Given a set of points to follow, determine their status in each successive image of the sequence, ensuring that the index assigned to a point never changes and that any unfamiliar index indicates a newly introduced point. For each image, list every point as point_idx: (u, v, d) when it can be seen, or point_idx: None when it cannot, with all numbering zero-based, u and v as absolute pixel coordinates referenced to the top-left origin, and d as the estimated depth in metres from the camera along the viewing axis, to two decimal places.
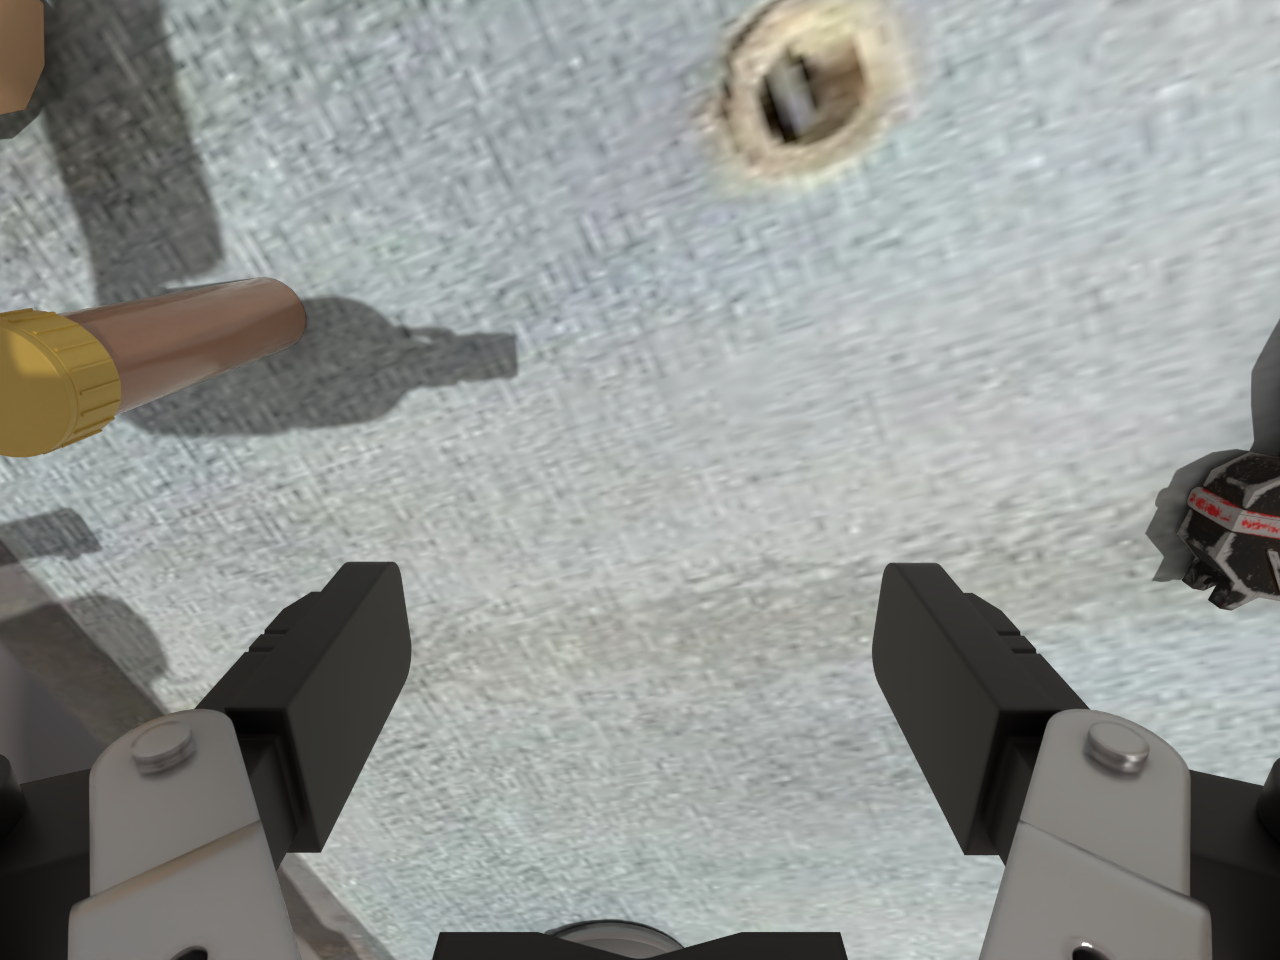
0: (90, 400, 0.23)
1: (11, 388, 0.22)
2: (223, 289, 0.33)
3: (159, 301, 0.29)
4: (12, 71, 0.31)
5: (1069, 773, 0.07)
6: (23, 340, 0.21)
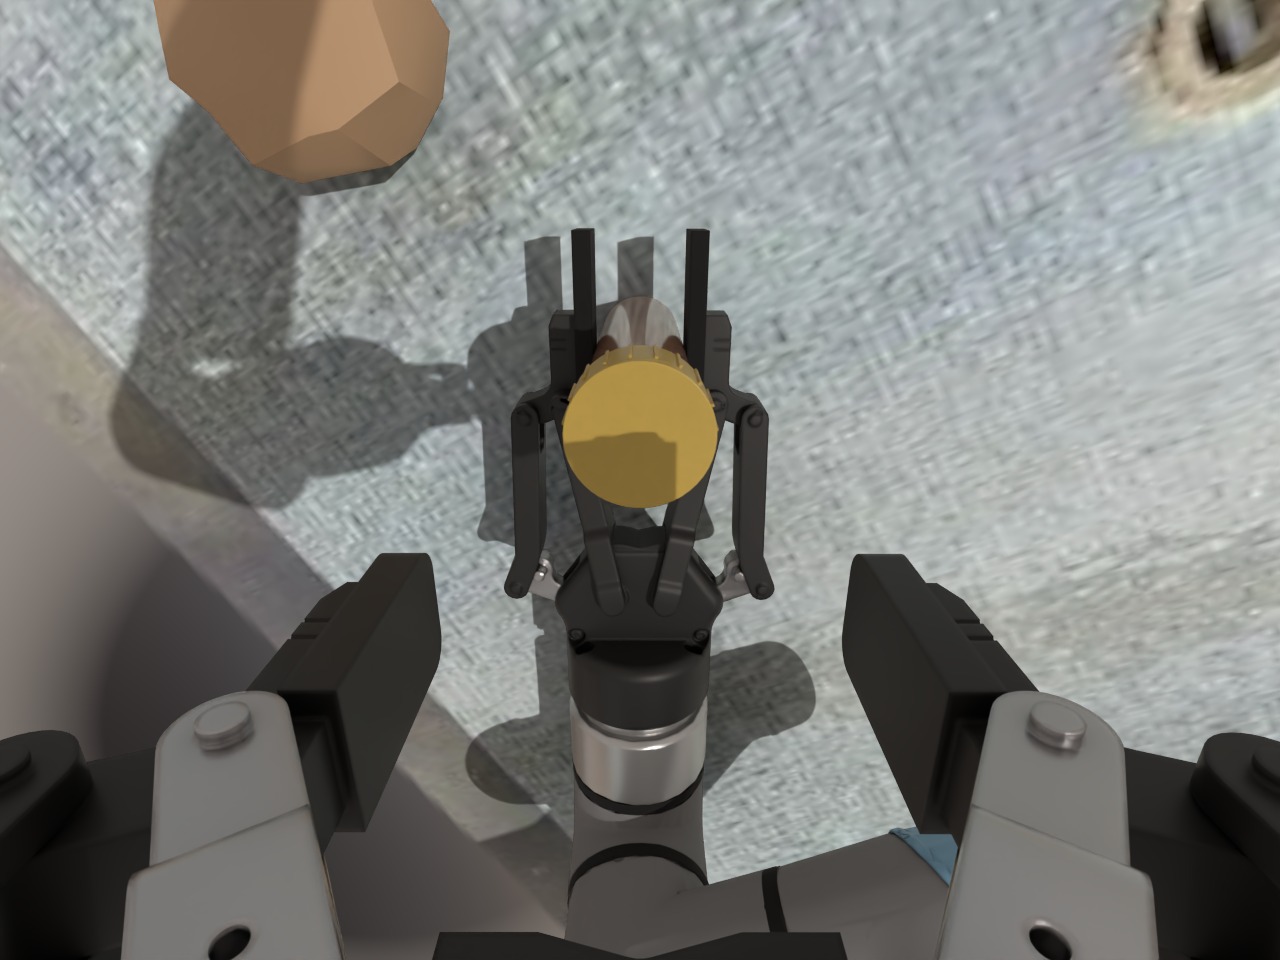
0: None
1: (657, 432, 0.20)
2: (649, 310, 0.31)
3: (650, 326, 0.26)
4: (432, 105, 0.29)
5: (1014, 754, 0.07)
6: (682, 376, 0.19)
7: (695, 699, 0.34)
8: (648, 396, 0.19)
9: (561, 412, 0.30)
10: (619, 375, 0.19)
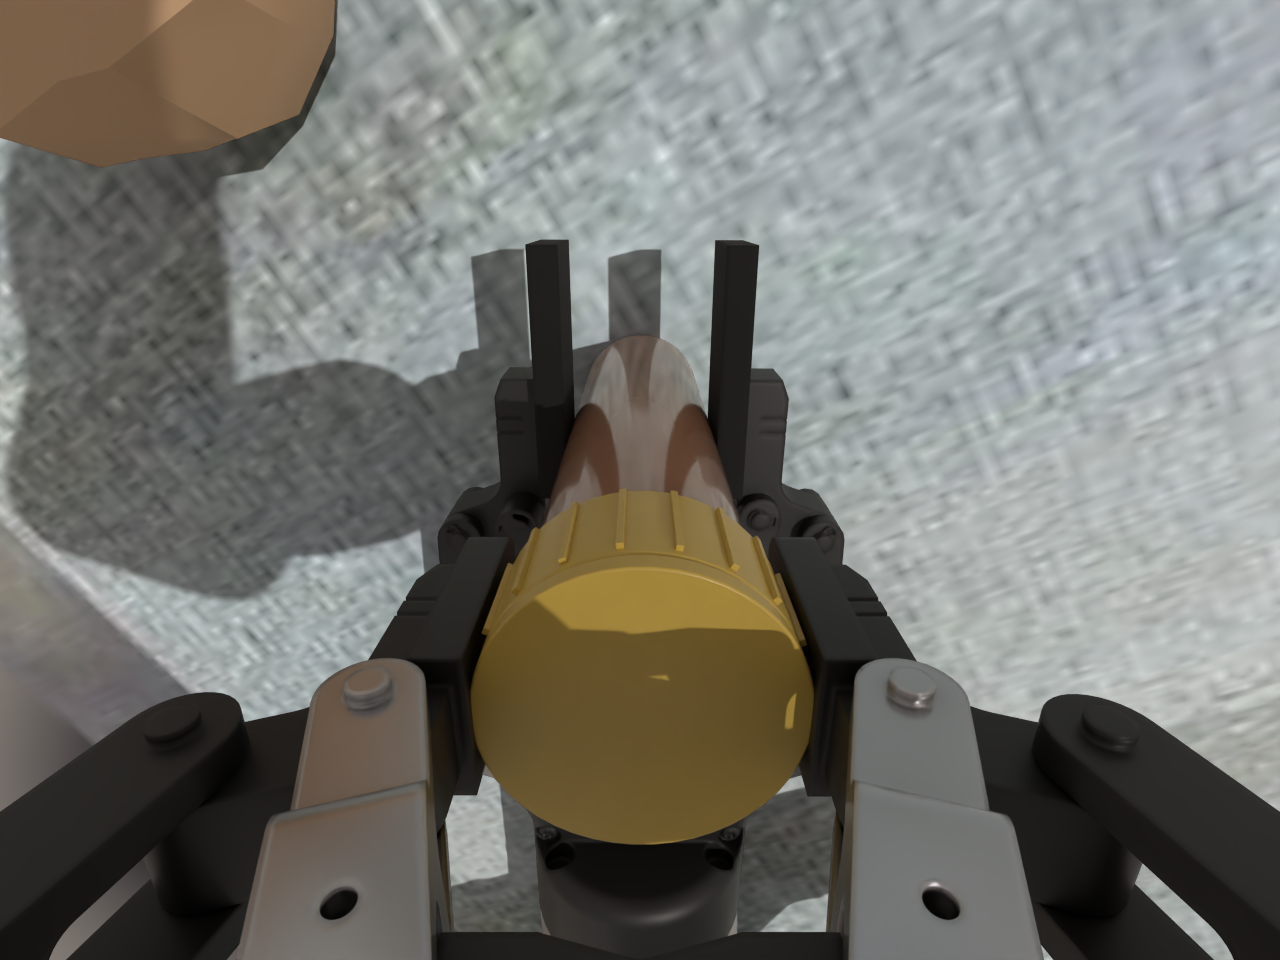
0: None
1: (680, 709, 0.09)
2: (655, 366, 0.20)
3: (658, 410, 0.15)
4: (306, 42, 0.18)
5: (880, 722, 0.07)
6: (740, 598, 0.08)
7: (722, 930, 0.23)
8: (661, 639, 0.08)
9: (517, 530, 0.19)
10: (593, 598, 0.08)
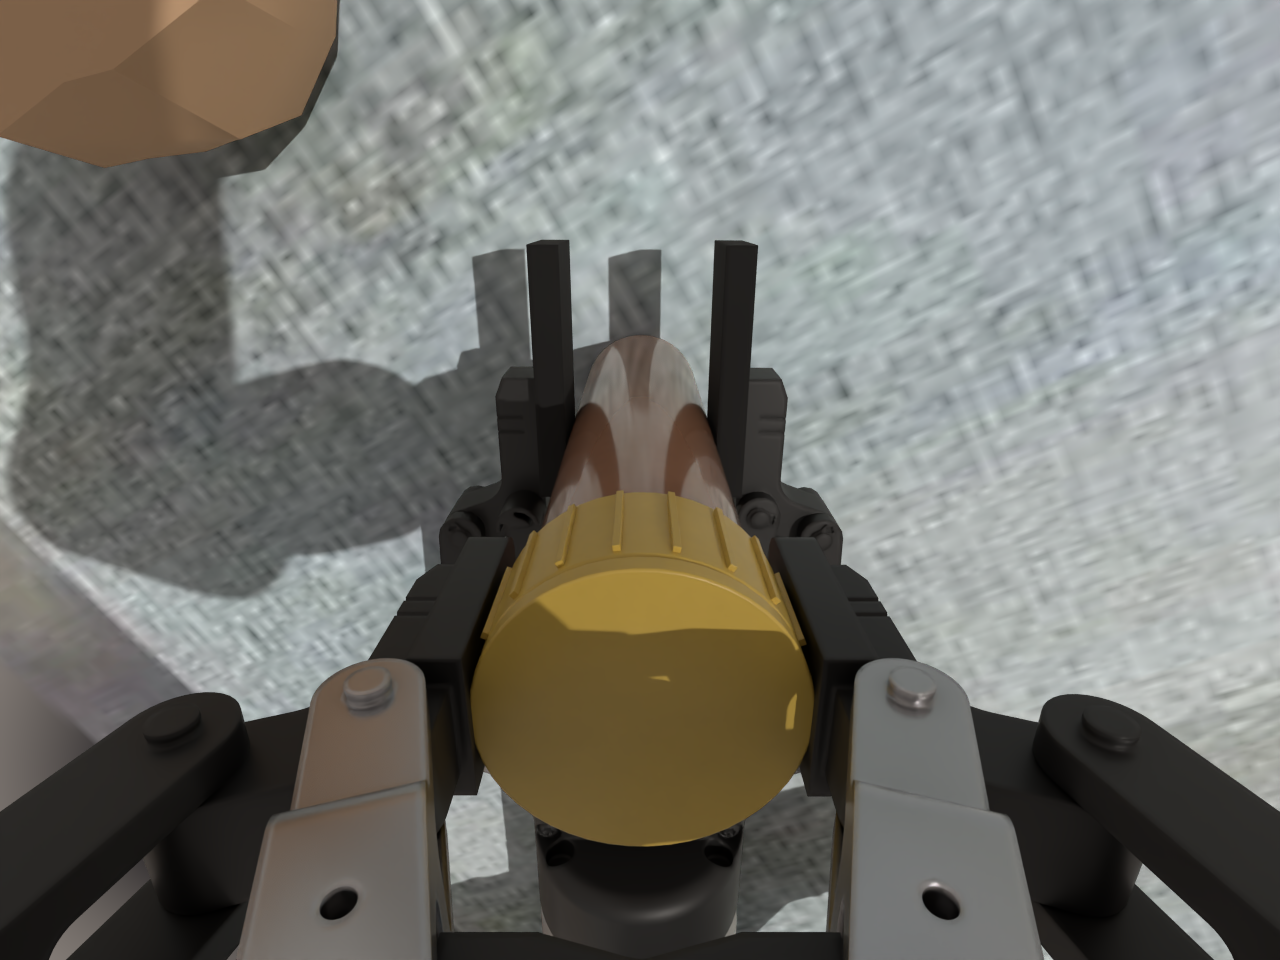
0: (646, 536, 0.09)
1: (624, 692, 0.09)
2: (655, 365, 0.20)
3: (658, 409, 0.16)
4: (309, 43, 0.18)
5: (880, 722, 0.07)
6: (489, 656, 0.09)
7: (722, 927, 0.23)
8: (544, 715, 0.09)
9: (517, 528, 0.19)
10: (511, 766, 0.09)
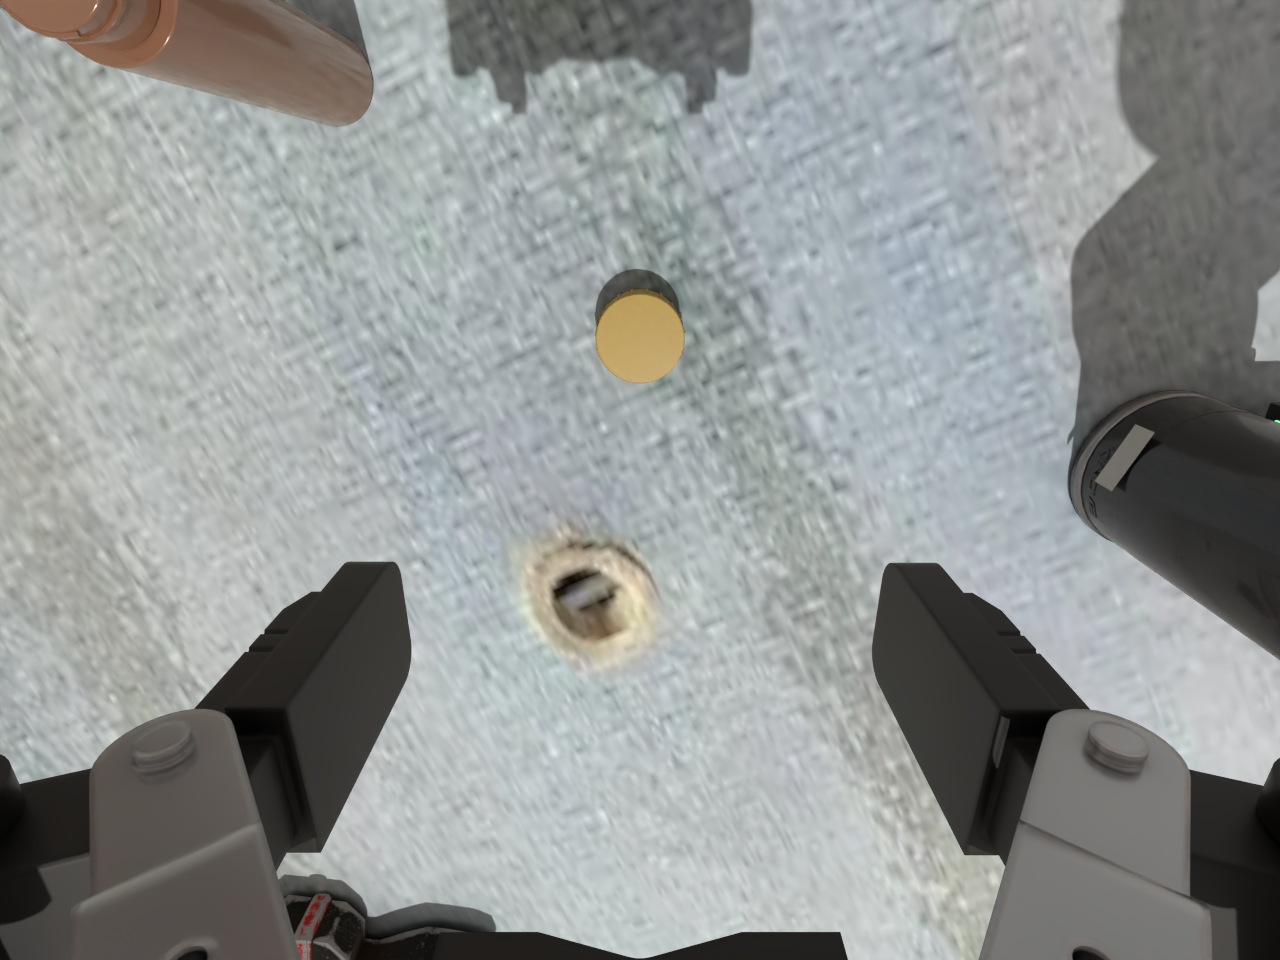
0: None
1: (646, 348, 0.35)
2: (328, 74, 0.28)
3: (271, 49, 0.24)
4: None
5: (1069, 773, 0.07)
6: (680, 351, 0.35)
7: None
8: (664, 337, 0.35)
9: None
10: (671, 318, 0.34)
